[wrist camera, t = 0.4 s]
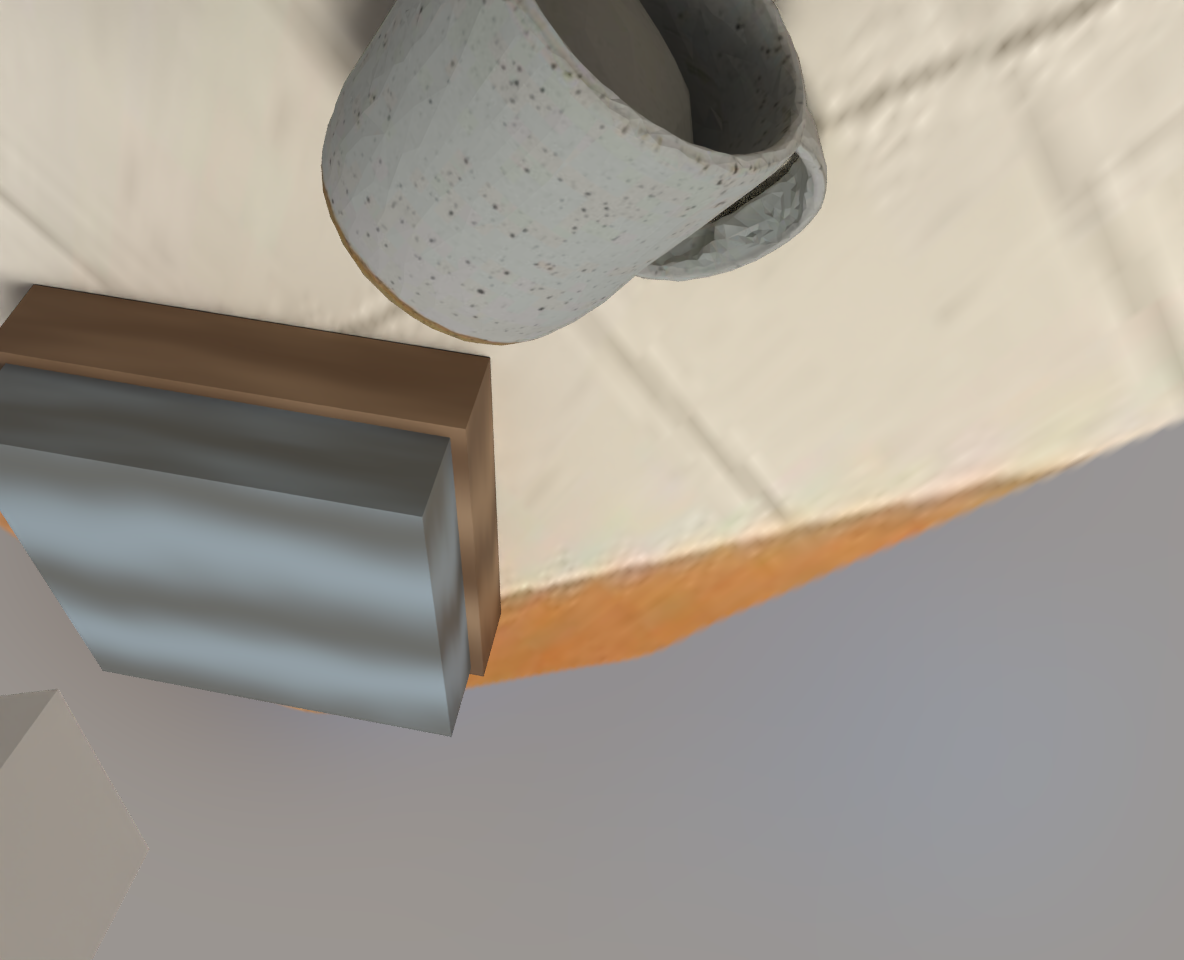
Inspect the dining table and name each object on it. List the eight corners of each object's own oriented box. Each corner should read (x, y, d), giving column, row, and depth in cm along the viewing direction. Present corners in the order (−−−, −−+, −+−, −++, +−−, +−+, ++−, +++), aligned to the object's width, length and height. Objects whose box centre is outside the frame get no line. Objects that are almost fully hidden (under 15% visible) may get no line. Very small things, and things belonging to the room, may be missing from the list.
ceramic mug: (356, 56, 26) (240, 261, 21) (540, -245, 20) (439, -57, 16) (688, 291, 30) (653, 507, 25) (920, 93, 24) (930, 325, 20)
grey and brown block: (33, 284, 34) (-72, 420, 31) (489, 358, 33) (438, 509, 30) (159, 552, 46) (94, 674, 42) (500, 613, 45) (464, 744, 41)
